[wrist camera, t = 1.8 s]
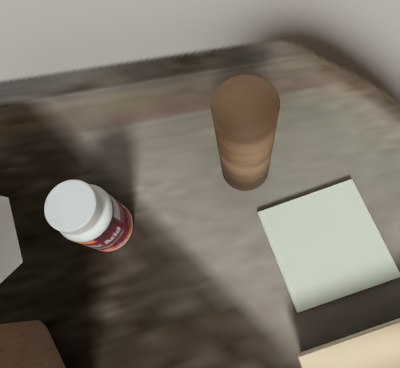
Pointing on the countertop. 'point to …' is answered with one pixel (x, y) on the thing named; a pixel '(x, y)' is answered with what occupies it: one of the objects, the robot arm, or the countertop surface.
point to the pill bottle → (88, 215)
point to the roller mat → (327, 246)
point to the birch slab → (358, 350)
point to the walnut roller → (245, 128)
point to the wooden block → (28, 346)
